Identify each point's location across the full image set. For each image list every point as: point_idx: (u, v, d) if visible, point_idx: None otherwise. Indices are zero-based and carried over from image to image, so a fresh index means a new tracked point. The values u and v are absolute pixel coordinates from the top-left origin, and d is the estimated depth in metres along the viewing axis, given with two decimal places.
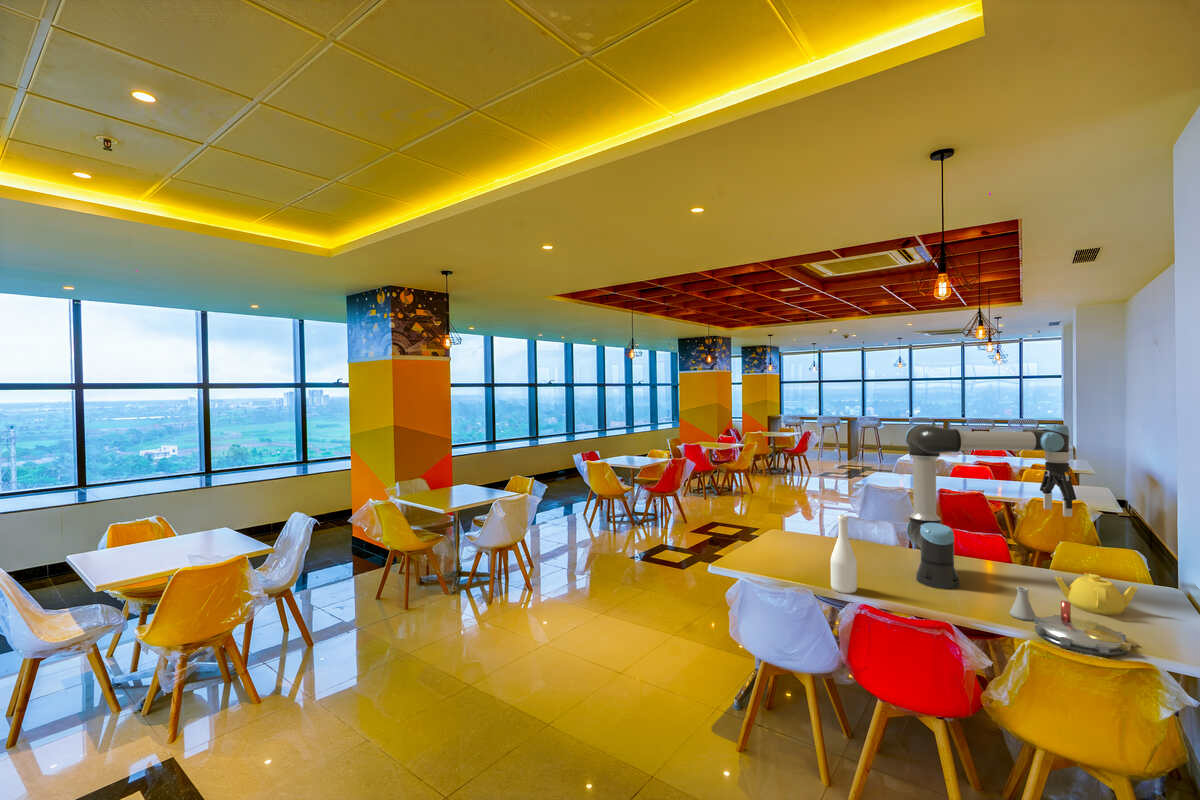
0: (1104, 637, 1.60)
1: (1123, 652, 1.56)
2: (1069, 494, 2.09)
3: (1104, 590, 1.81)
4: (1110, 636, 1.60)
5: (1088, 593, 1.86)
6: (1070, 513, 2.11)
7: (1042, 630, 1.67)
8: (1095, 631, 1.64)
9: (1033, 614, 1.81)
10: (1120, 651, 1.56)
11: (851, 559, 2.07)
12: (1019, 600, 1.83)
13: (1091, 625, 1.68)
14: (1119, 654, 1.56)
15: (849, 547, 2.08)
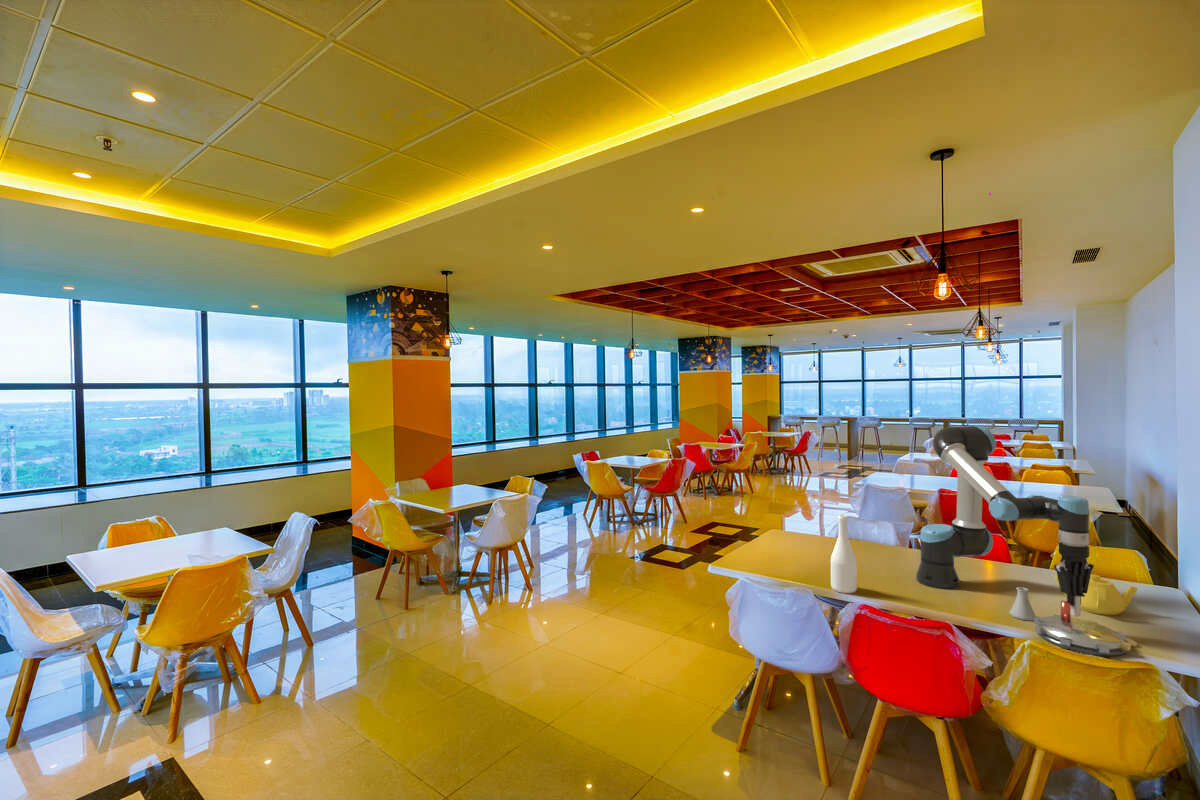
0: (1104, 637, 1.60)
1: (1123, 652, 1.56)
2: (1061, 587, 1.73)
3: (1104, 590, 1.81)
4: (1110, 636, 1.60)
5: (1088, 593, 1.86)
6: (1074, 612, 1.72)
7: (1042, 630, 1.67)
8: (1095, 631, 1.64)
9: (1033, 614, 1.81)
10: (1120, 651, 1.56)
11: (851, 559, 2.07)
12: (1019, 600, 1.83)
13: (1091, 625, 1.68)
14: (1119, 654, 1.56)
15: (849, 547, 2.08)
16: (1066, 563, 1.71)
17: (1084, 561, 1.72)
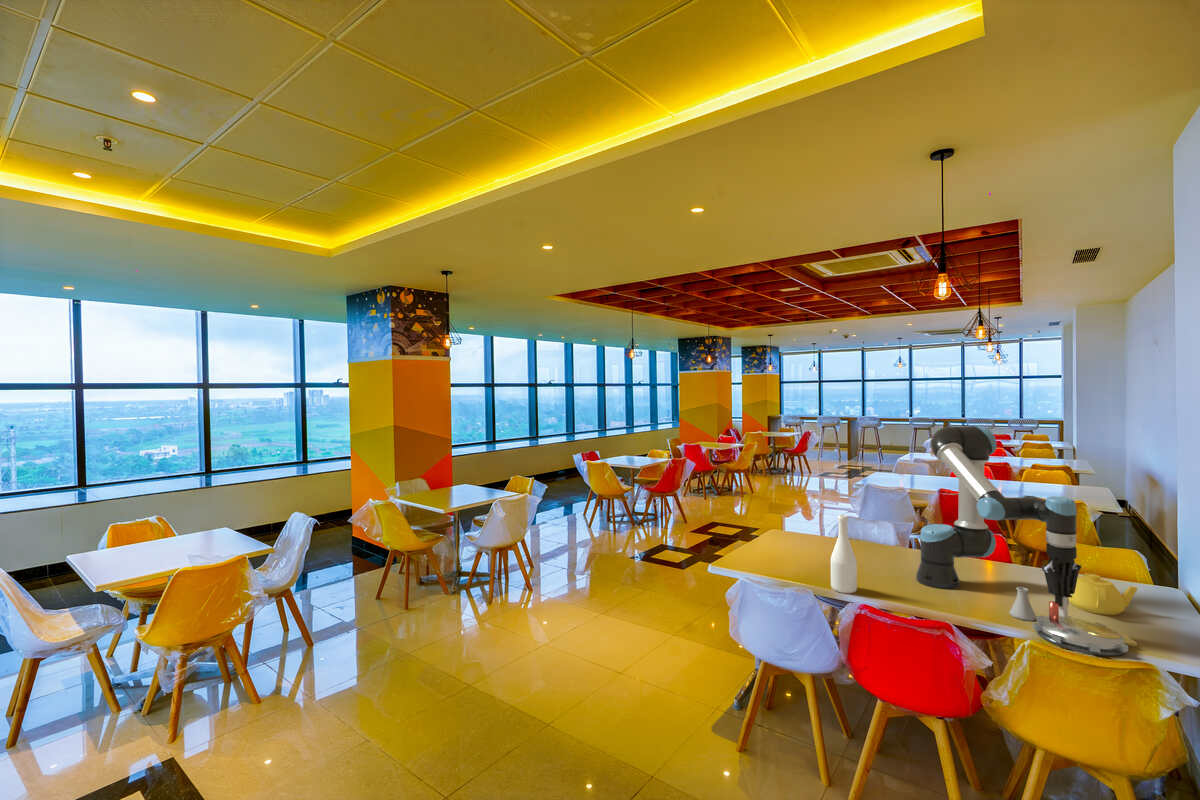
0: (1107, 634, 1.62)
1: None
2: (1049, 588, 1.73)
3: (1104, 590, 1.81)
4: (1106, 631, 1.64)
5: (1088, 593, 1.86)
6: (1062, 612, 1.72)
7: (1062, 639, 1.61)
8: (1090, 628, 1.66)
9: (1033, 614, 1.81)
10: None
11: (851, 559, 2.07)
12: (1019, 600, 1.83)
13: (1075, 622, 1.71)
14: (1119, 654, 1.56)
15: (849, 547, 2.08)
16: (1054, 564, 1.71)
17: (1072, 562, 1.72)
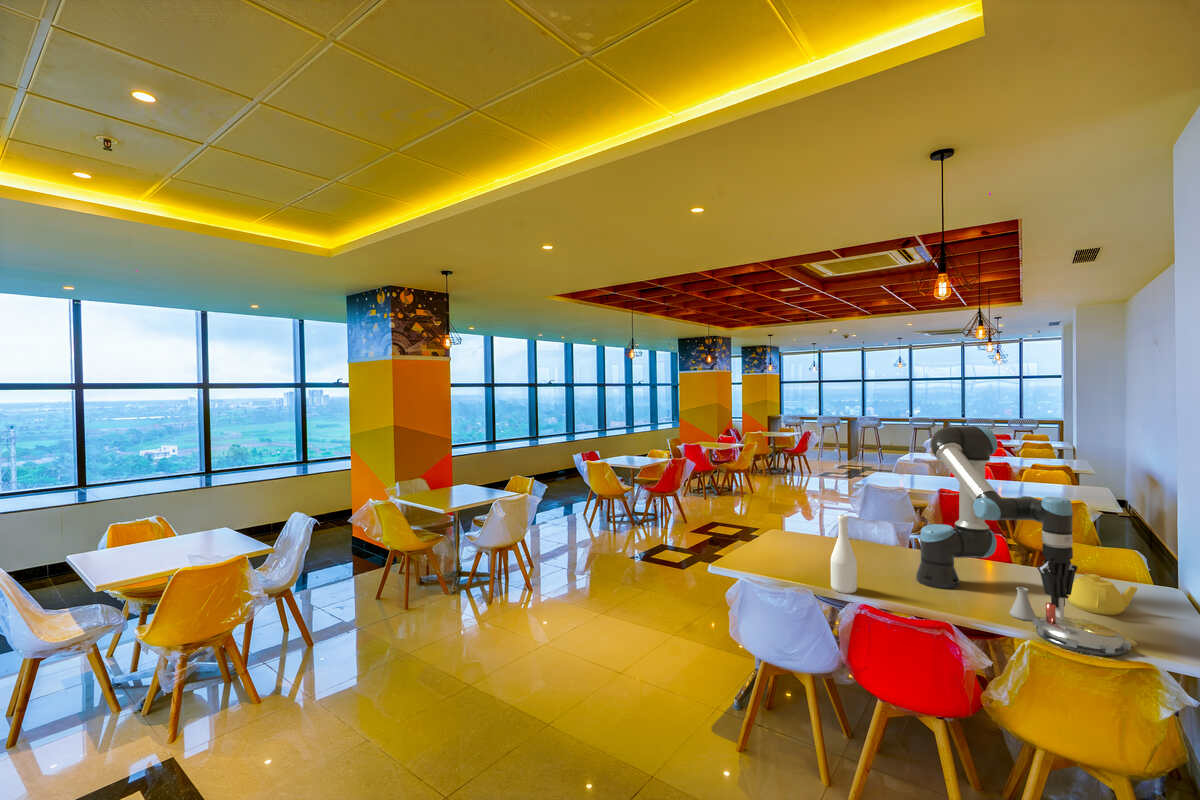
0: (1104, 631, 1.64)
1: (1123, 652, 1.56)
2: (1045, 589, 1.72)
3: (1104, 590, 1.81)
4: (1100, 628, 1.66)
5: (1088, 593, 1.86)
6: (1058, 613, 1.71)
7: (1077, 643, 1.58)
8: (1086, 626, 1.67)
9: (1033, 614, 1.81)
10: (1120, 651, 1.56)
11: (851, 559, 2.07)
12: (1019, 600, 1.83)
13: (1067, 620, 1.72)
14: (1119, 654, 1.56)
15: (849, 547, 2.08)
16: (1049, 564, 1.70)
17: (1068, 562, 1.71)
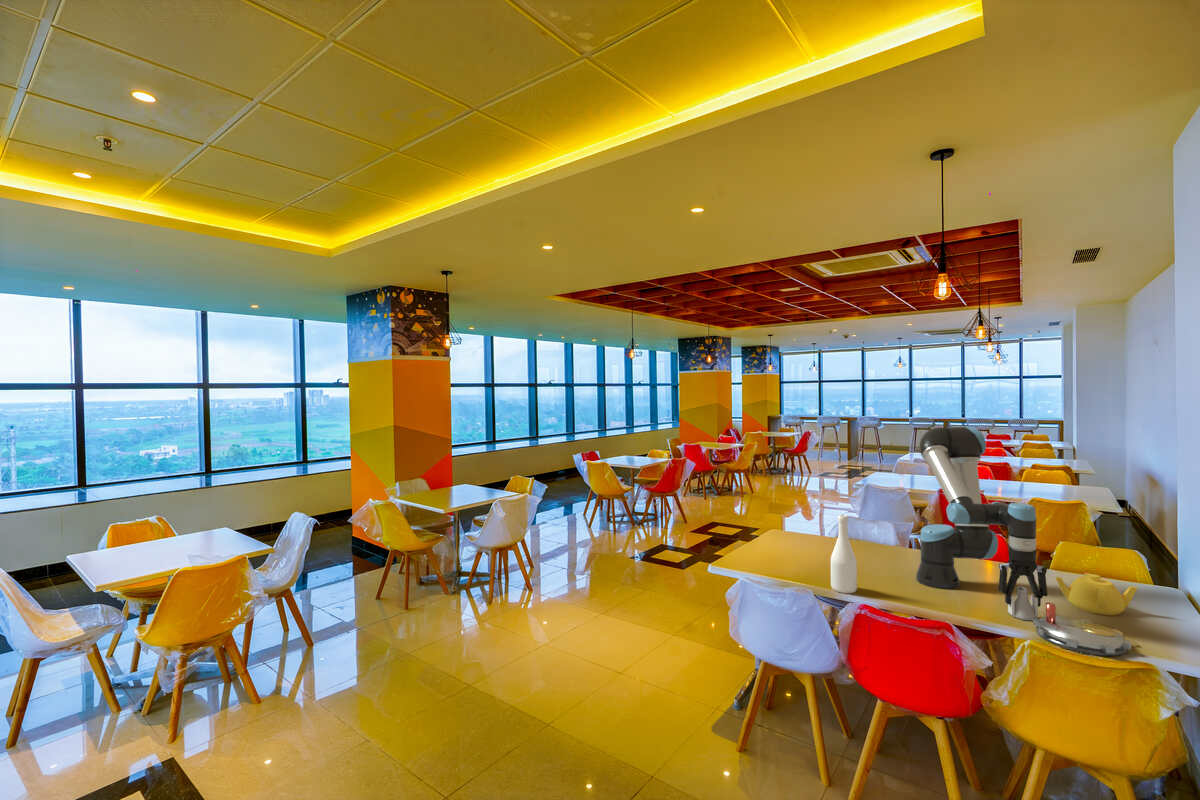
0: (1104, 631, 1.64)
1: (1123, 652, 1.56)
2: (999, 585, 1.85)
3: (1104, 590, 1.81)
4: (1100, 627, 1.66)
5: (1088, 593, 1.86)
6: (1011, 610, 1.83)
7: (1077, 643, 1.58)
8: (1086, 626, 1.67)
9: (1033, 614, 1.81)
10: (1120, 651, 1.56)
11: (851, 559, 2.07)
12: (1019, 600, 1.83)
13: (1067, 620, 1.72)
14: (1119, 654, 1.56)
15: (849, 547, 2.08)
16: (1010, 565, 1.83)
17: (1033, 566, 1.81)
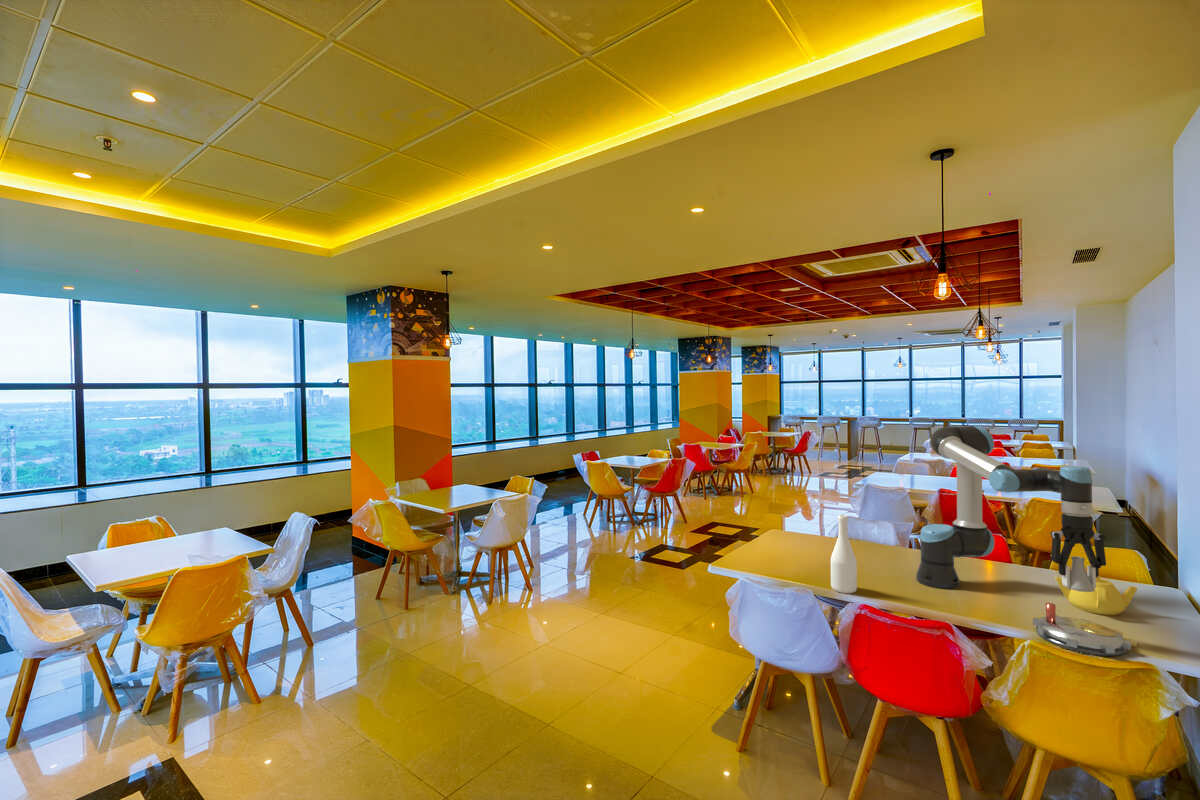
0: (1104, 631, 1.64)
1: (1123, 652, 1.56)
2: (1052, 555, 1.71)
3: (1104, 590, 1.81)
4: (1100, 627, 1.66)
5: (1088, 593, 1.86)
6: (1065, 582, 1.69)
7: (1077, 643, 1.58)
8: (1086, 626, 1.67)
9: (1091, 585, 1.66)
10: (1120, 651, 1.56)
11: (851, 559, 2.07)
12: (1074, 570, 1.68)
13: (1067, 620, 1.72)
14: (1119, 654, 1.56)
15: (849, 547, 2.08)
16: (1064, 533, 1.69)
17: (1090, 533, 1.67)
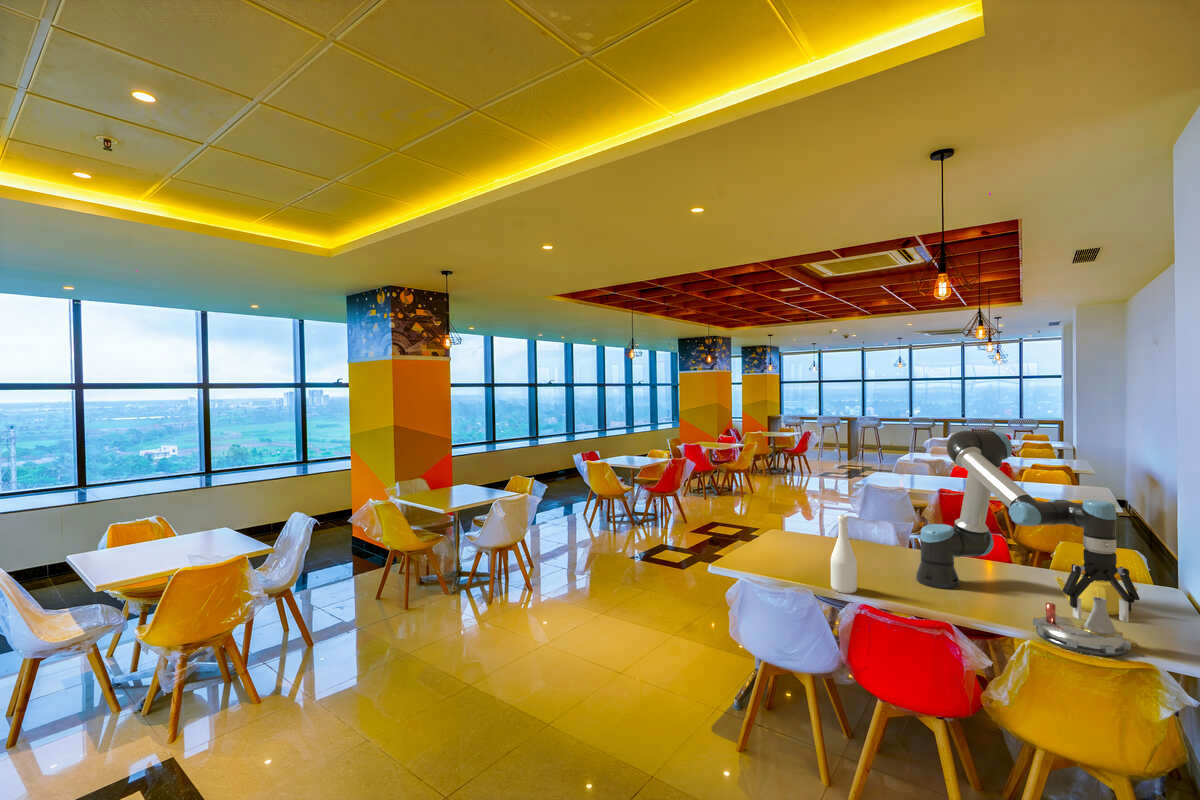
0: None
1: (1123, 652, 1.56)
2: (1065, 587, 1.67)
3: (1104, 590, 1.81)
4: None
5: (1088, 593, 1.86)
6: (1077, 614, 1.65)
7: (1077, 643, 1.58)
8: None
9: (1113, 627, 1.62)
10: (1120, 651, 1.56)
11: (851, 559, 2.07)
12: (1096, 611, 1.64)
13: (1067, 620, 1.72)
14: (1119, 654, 1.56)
15: (849, 547, 2.08)
16: (1086, 569, 1.64)
17: (1113, 570, 1.62)
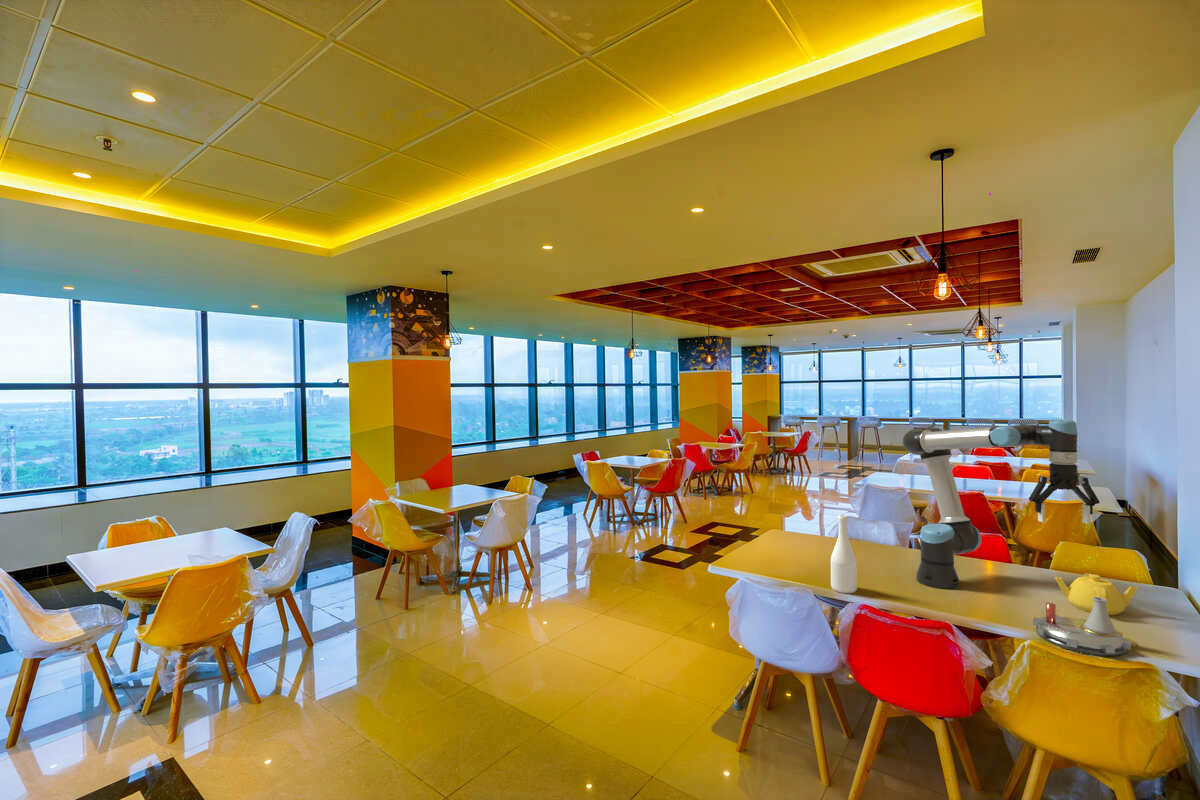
0: None
1: (1123, 652, 1.56)
2: (1031, 495, 1.90)
3: (1104, 590, 1.81)
4: None
5: (1088, 593, 1.86)
6: (1041, 518, 1.88)
7: (1077, 643, 1.58)
8: None
9: (1113, 627, 1.62)
10: (1120, 651, 1.56)
11: (851, 559, 2.07)
12: (1096, 611, 1.64)
13: (1067, 620, 1.72)
14: (1119, 654, 1.56)
15: (849, 547, 2.08)
16: (1051, 480, 1.87)
17: (1074, 480, 1.86)
